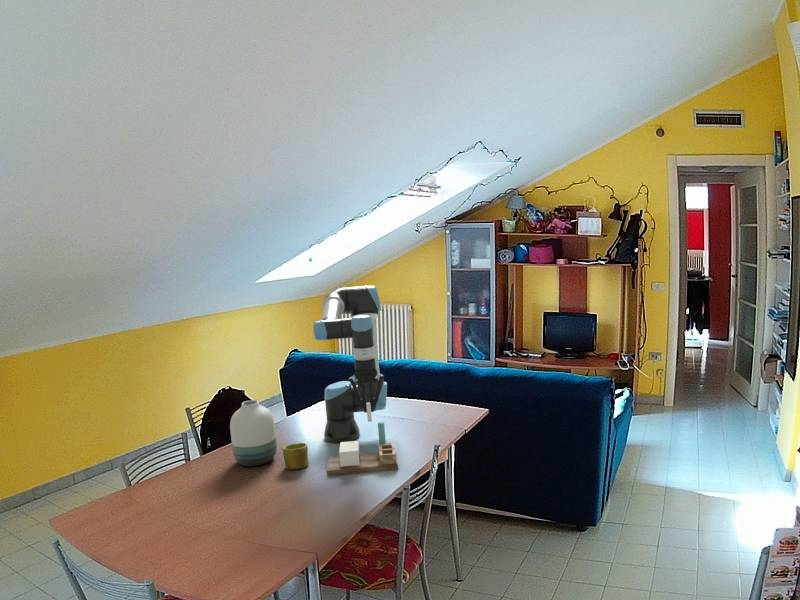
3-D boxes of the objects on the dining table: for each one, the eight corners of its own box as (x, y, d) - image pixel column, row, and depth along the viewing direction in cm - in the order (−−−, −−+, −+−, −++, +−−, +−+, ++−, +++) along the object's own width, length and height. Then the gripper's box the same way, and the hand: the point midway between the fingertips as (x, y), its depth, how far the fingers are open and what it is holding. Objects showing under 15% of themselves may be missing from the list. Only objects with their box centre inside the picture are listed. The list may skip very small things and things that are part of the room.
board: (329, 462, 237) (328, 448, 236) (396, 455, 238) (395, 442, 238) (327, 476, 224) (325, 461, 224) (398, 469, 225) (397, 455, 225)
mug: (306, 467, 228) (298, 441, 230) (283, 475, 231) (275, 449, 232) (319, 461, 240) (312, 436, 241) (297, 468, 242) (289, 444, 244)
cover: (341, 456, 236) (340, 442, 235) (359, 454, 236) (358, 440, 235) (340, 466, 226) (339, 452, 225) (359, 465, 226) (358, 450, 225)
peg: (380, 451, 244) (377, 422, 242) (386, 451, 244) (384, 422, 242) (380, 454, 241) (377, 424, 240) (386, 453, 241) (384, 424, 240)
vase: (226, 463, 243) (219, 405, 240) (261, 449, 255) (255, 393, 252) (250, 473, 232) (243, 412, 228) (286, 458, 244) (280, 399, 241)
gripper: (346, 361, 220) (351, 425, 223) (382, 358, 220) (387, 422, 224) (346, 357, 227) (352, 418, 230) (382, 354, 228) (387, 415, 231)
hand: (369, 420), depth 227 cm, fingers closed
